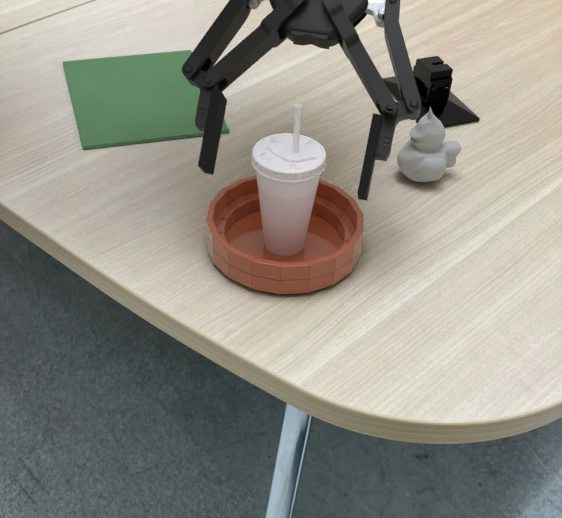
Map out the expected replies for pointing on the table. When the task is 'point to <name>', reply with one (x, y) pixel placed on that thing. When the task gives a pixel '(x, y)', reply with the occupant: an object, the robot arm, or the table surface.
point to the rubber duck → (427, 151)
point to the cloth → (133, 99)
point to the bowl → (284, 269)
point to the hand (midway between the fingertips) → (282, 184)
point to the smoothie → (287, 186)
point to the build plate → (436, 92)
